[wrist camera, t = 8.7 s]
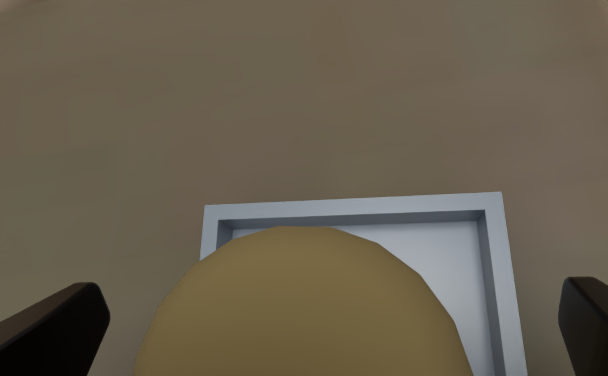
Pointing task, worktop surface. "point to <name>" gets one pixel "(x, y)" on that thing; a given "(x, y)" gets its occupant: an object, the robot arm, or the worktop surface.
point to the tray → (417, 256)
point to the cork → (302, 313)
